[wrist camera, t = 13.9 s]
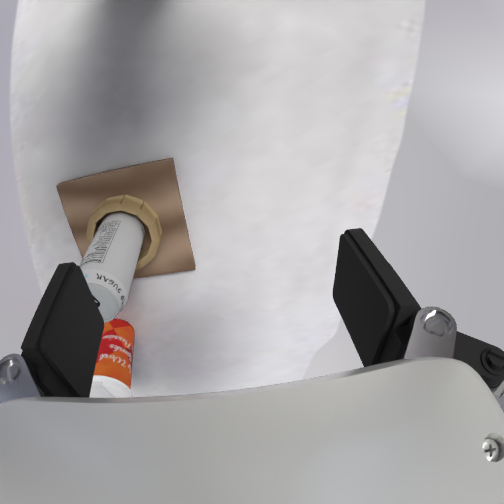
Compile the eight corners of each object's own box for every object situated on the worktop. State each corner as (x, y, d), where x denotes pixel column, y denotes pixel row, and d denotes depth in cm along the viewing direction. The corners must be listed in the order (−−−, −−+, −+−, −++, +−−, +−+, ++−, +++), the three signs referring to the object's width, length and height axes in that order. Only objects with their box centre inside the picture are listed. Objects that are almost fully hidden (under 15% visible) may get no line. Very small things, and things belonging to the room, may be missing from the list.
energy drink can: (121, 254, 42) (96, 334, 30) (94, 222, 39) (55, 296, 26) (154, 233, 41) (137, 313, 29) (127, 198, 38) (94, 269, 25)
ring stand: (59, 183, 36) (48, 193, 33) (172, 157, 37) (169, 166, 34) (95, 279, 45) (89, 294, 42) (195, 265, 46) (195, 280, 43)
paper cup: (149, 331, 52) (141, 400, 40) (123, 350, 54) (113, 415, 42) (113, 306, 48) (96, 376, 36) (89, 327, 50) (71, 392, 38)
